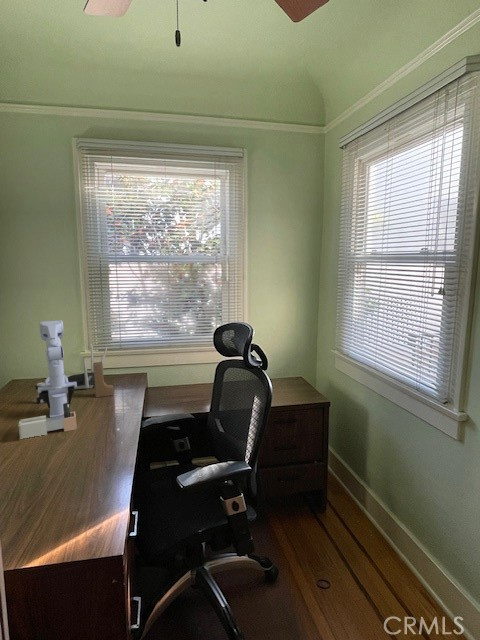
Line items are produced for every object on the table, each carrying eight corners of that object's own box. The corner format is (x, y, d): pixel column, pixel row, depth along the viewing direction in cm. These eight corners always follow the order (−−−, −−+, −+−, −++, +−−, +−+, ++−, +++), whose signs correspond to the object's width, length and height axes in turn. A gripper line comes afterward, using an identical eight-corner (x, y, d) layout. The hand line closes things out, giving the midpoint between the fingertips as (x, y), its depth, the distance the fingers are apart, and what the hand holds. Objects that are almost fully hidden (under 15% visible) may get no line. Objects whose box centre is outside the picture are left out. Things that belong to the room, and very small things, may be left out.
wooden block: (113, 392, 195) (111, 360, 193) (113, 395, 191) (111, 362, 188) (95, 394, 192) (93, 362, 189) (95, 397, 188) (93, 364, 185)
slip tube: (41, 428, 150) (39, 406, 149) (72, 422, 156) (71, 401, 154) (41, 432, 147) (39, 410, 145) (73, 426, 152) (71, 404, 151)
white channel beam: (21, 434, 148) (19, 419, 147) (47, 429, 152) (45, 415, 151) (20, 440, 142) (18, 425, 141) (47, 435, 147) (45, 420, 146)
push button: (32, 405, 179) (30, 385, 177) (35, 401, 184) (33, 382, 182) (47, 403, 181) (45, 384, 179) (49, 399, 186) (47, 381, 184)
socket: (63, 425, 155) (62, 413, 154) (75, 423, 157) (74, 411, 156) (64, 431, 150) (63, 418, 149) (76, 429, 152) (75, 416, 151)
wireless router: (71, 376, 225) (69, 345, 222) (110, 373, 231) (108, 343, 228) (60, 395, 193) (57, 359, 190) (105, 390, 199) (103, 355, 196)
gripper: (36, 380, 143) (39, 412, 145) (76, 374, 150) (78, 405, 152) (37, 375, 149) (40, 406, 151) (75, 370, 156) (77, 400, 158)
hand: (59, 405), depth 152 cm, fingers open, 7 cm apart
